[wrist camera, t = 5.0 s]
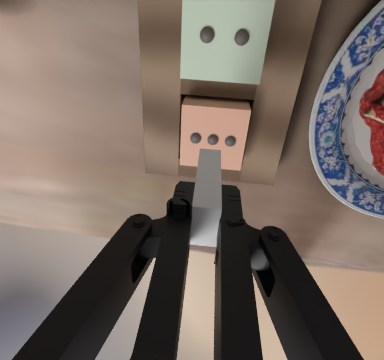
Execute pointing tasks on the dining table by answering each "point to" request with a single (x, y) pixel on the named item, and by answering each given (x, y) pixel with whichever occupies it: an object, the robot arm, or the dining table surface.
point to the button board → (221, 88)
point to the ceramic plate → (353, 119)
